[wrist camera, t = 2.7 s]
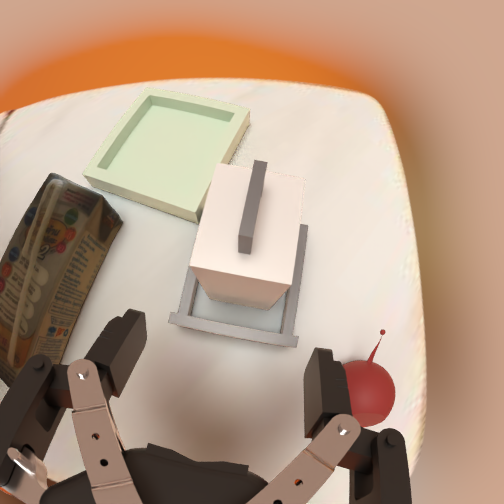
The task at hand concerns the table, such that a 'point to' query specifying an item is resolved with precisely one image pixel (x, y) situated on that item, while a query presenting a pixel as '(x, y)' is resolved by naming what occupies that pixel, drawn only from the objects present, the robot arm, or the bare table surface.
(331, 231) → the table surface
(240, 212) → the white tall block
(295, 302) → the bay
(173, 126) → the tray
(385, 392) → the fruit
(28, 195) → the table surface
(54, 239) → the beverage carton
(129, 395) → the table surface
